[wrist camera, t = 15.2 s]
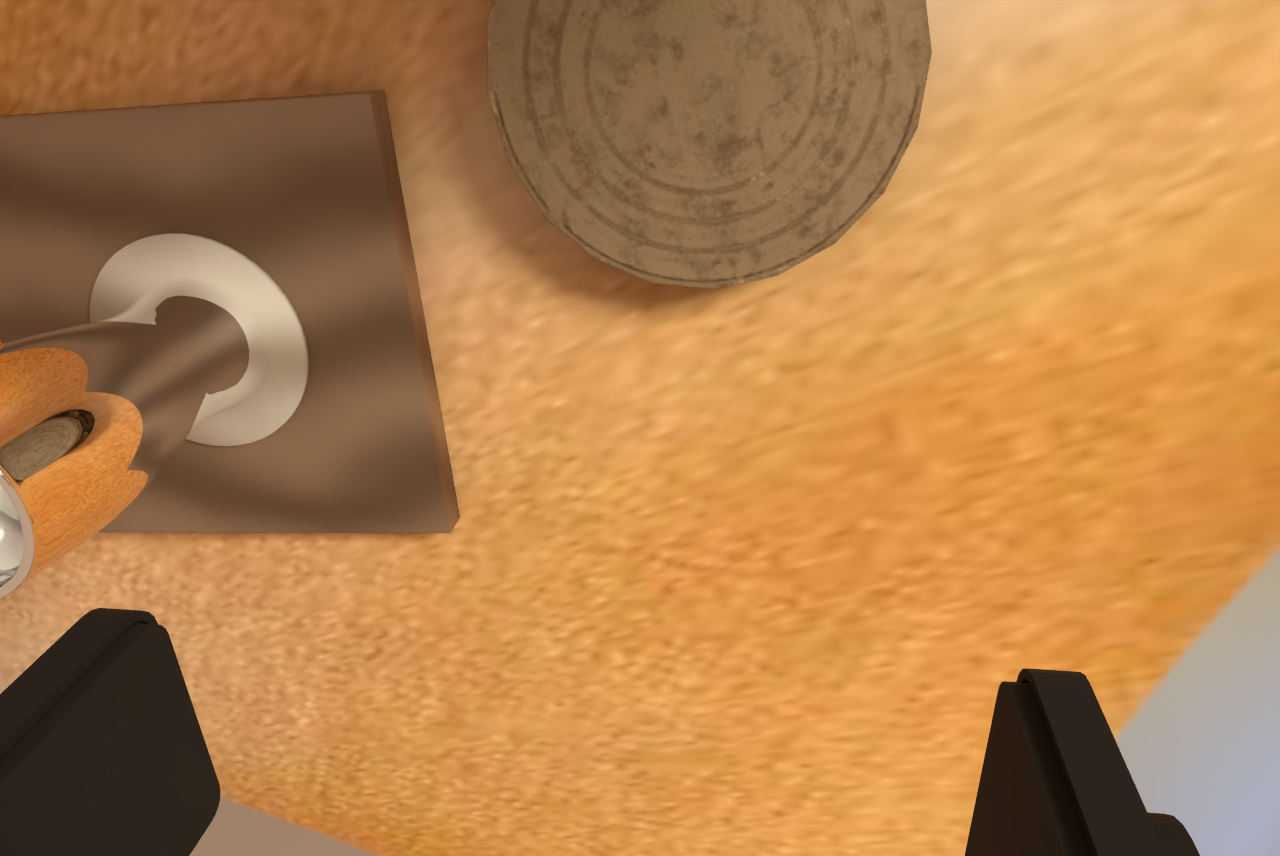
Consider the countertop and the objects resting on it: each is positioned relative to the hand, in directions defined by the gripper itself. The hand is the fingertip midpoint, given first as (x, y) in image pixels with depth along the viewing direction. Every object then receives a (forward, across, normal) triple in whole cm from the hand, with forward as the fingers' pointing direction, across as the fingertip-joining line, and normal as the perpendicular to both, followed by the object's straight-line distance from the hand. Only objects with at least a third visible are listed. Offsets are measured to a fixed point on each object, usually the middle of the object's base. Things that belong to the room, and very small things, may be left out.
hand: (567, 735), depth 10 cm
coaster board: (+29, +23, +7) cm, 38 cm away
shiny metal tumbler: (+28, +22, +7) cm, 36 cm away
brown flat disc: (+30, 0, -4) cm, 31 cm away
